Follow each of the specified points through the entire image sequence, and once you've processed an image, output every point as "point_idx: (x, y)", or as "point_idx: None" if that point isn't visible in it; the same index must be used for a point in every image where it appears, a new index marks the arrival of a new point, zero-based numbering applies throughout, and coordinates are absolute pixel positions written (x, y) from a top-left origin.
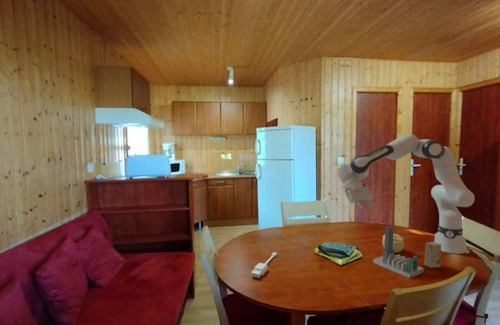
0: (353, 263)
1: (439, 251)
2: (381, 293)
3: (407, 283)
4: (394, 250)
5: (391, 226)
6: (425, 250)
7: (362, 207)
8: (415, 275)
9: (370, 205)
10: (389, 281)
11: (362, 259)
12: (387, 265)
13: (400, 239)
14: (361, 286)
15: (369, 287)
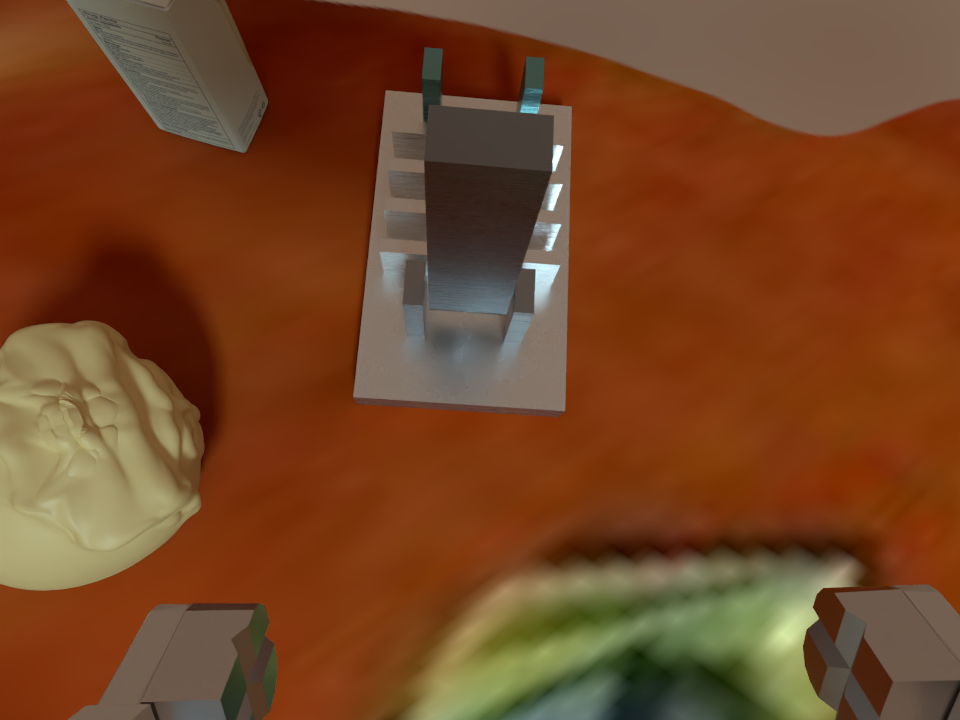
0: (725, 510)
1: None
2: (901, 137)
3: (649, 104)
4: (410, 262)
5: (447, 123)
6: (201, 67)
7: (918, 585)
8: None
9: (242, 682)
10: (729, 180)
11: (583, 517)
12: (567, 276)
13: (76, 340)
14: (952, 249)
15: (914, 213)
